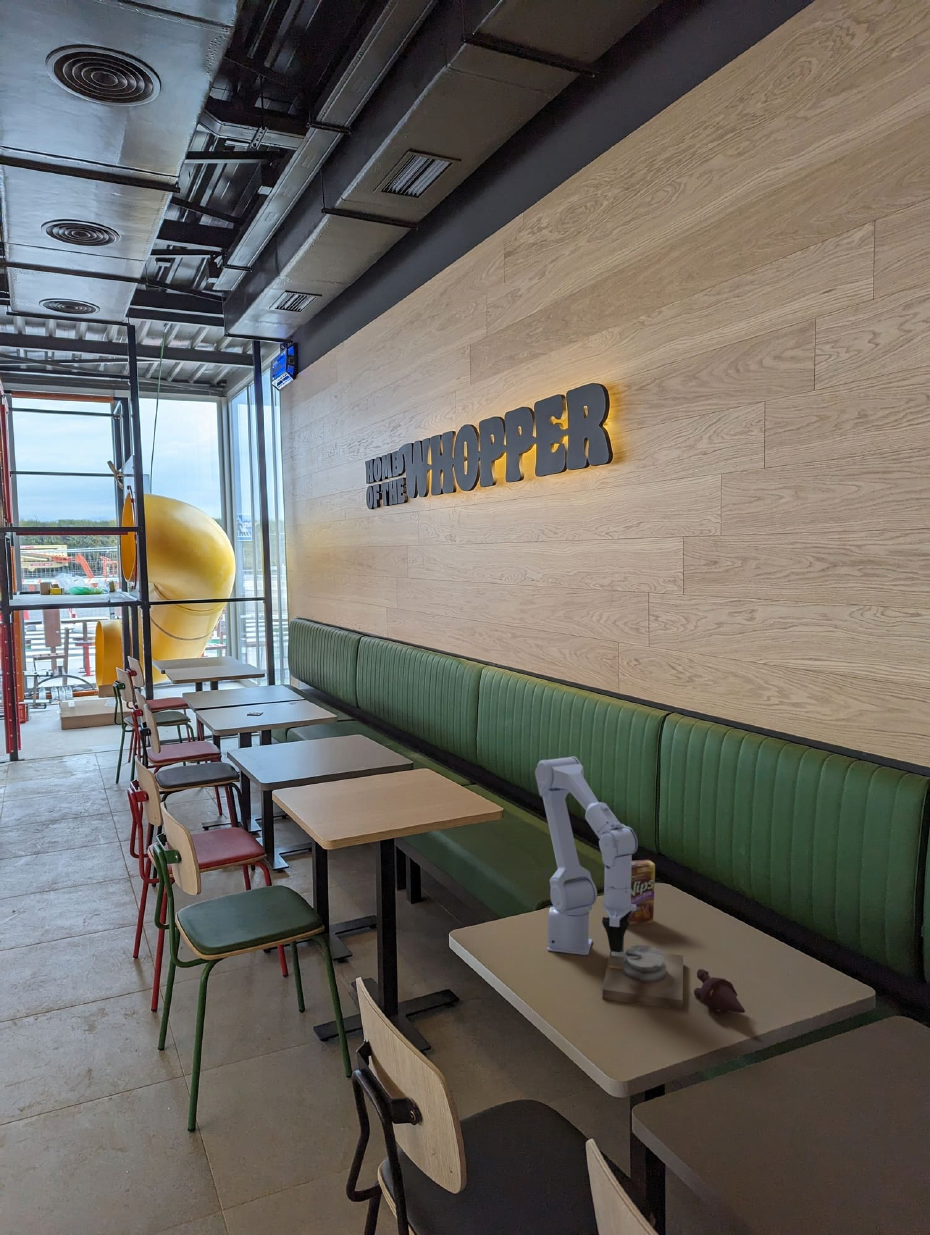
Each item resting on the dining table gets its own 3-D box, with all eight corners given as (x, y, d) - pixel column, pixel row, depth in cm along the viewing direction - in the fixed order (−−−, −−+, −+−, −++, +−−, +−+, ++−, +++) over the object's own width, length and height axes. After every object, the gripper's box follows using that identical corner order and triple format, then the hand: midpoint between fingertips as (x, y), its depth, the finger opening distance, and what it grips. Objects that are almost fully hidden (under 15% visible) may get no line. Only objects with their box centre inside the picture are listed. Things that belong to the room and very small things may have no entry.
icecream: (762, 994, 160) (714, 966, 175) (731, 991, 158) (685, 962, 172) (756, 1031, 160) (708, 1000, 174) (725, 1028, 157) (679, 996, 171)
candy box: (621, 927, 205) (622, 866, 204) (614, 919, 209) (615, 860, 209) (654, 924, 207) (655, 864, 206) (647, 916, 211) (648, 858, 210)
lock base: (602, 998, 171) (602, 982, 171) (611, 955, 190) (611, 940, 190) (682, 1009, 167) (682, 993, 166) (683, 964, 186) (683, 949, 186)
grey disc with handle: (666, 958, 180) (666, 933, 180) (660, 975, 173) (661, 948, 173) (614, 949, 185) (614, 924, 184) (606, 965, 177) (607, 939, 177)
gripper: (634, 899, 171) (633, 963, 171) (638, 874, 185) (637, 933, 185) (599, 895, 172) (599, 959, 173) (606, 871, 186) (605, 929, 187)
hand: (616, 945), depth 179 cm, fingers open, 5 cm apart
